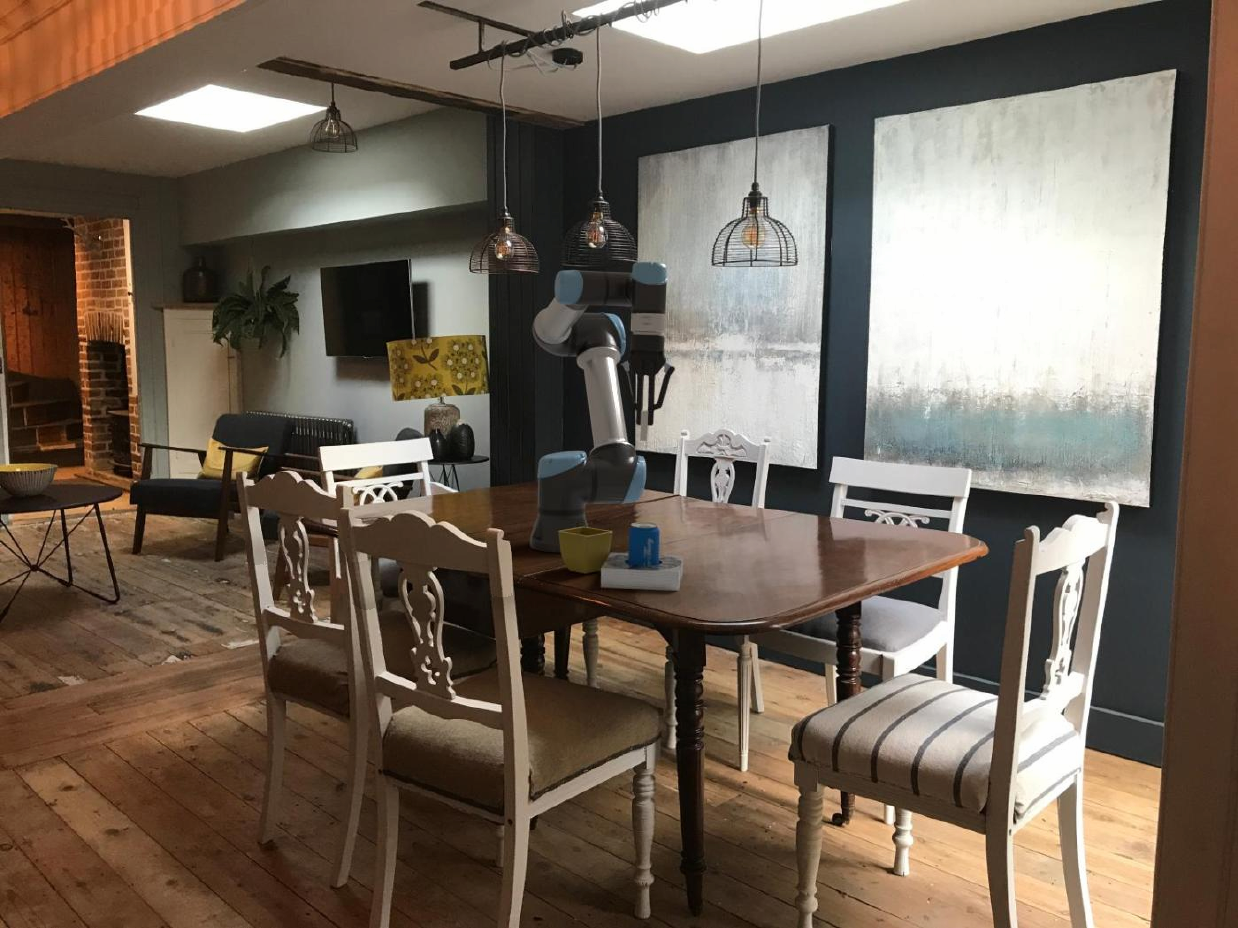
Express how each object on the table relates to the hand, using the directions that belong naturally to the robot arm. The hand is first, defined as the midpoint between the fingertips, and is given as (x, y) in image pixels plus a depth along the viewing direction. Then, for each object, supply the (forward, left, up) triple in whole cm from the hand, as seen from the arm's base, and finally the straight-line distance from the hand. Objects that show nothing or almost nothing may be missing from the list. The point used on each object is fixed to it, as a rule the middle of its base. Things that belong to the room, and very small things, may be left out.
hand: (644, 439), depth 223 cm
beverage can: (+2, -14, -29) cm, 32 cm away
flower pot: (-12, -8, -29) cm, 32 cm away
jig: (+2, -14, -29) cm, 32 cm away
